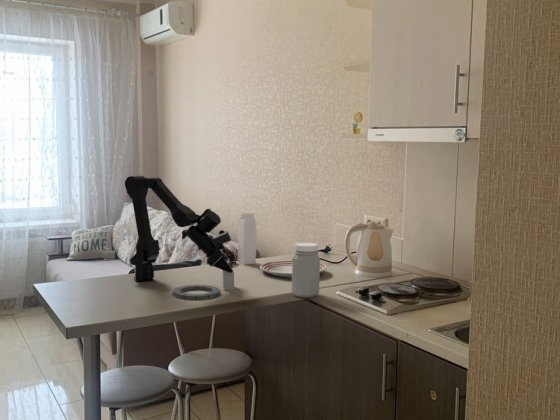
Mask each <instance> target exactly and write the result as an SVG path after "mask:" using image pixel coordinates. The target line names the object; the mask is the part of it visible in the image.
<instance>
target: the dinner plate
mask: <svg viewBox="0 0 560 420" xmlns="http://www.w3.org/2000/svg"><path fill="white" fill-rule="evenodd" d="M259 269H261V270H262V271H264V272H266V273H267V274H268V273H269V274H270V275H271V274H272V275H274V276H277V277H281V278H289V279H292V259H290V260H288V259H287V260H275V261H270V262H266V263H262V264H260V266H259ZM327 269H328V267H327V265H326V264H325V263H321V262H320V273H322V272H324V271H326V270H327Z"/></svg>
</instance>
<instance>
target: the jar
mask: <svg viewBox="0 0 560 420" xmlns="http://www.w3.org/2000/svg"><path fill="white" fill-rule="evenodd" d="M294 250H295V251H294V254H293V256H292V259H291V260H292V278H291V293H292V295H294V296H296V297H298V298H307V299H308V298H315V297H317V296H318V295H319V293H320V273H321V272H320V263H321V258H320V256H319V252H318V251H319V244H318V243H316V242H311V241H310V242H305V241H304V242H303V241H302V242H296V243H294Z"/></svg>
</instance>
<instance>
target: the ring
mask: <svg viewBox="0 0 560 420" xmlns="http://www.w3.org/2000/svg"><path fill="white" fill-rule="evenodd" d="M197 290H198V291H206V293H197V294H196V293H194V294H193V293H186V292H187V291H197ZM172 295H173V296H174V297H175V298H178V299H183V300H190V301H191V300H193V301H200V300H208V299H214V298H217V297H219V296H220V295H221V289H220V288H218V287H216V286H214V285H208V284H188V285H187V284H186V285H181V286H178V287H175V288H174V289H172Z"/></svg>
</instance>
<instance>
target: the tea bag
mask: <svg viewBox="0 0 560 420" xmlns="http://www.w3.org/2000/svg"><path fill="white" fill-rule="evenodd" d="M229 261H230V259H229V260H228V259H227V263H228V264H229V266H230V263H229ZM230 267H231V266H230ZM221 282H222V290H223V289H224V290H223V291H235V272H234V271H233V272H232V273H229V272H227V271H224V270H222V281H221Z"/></svg>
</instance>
